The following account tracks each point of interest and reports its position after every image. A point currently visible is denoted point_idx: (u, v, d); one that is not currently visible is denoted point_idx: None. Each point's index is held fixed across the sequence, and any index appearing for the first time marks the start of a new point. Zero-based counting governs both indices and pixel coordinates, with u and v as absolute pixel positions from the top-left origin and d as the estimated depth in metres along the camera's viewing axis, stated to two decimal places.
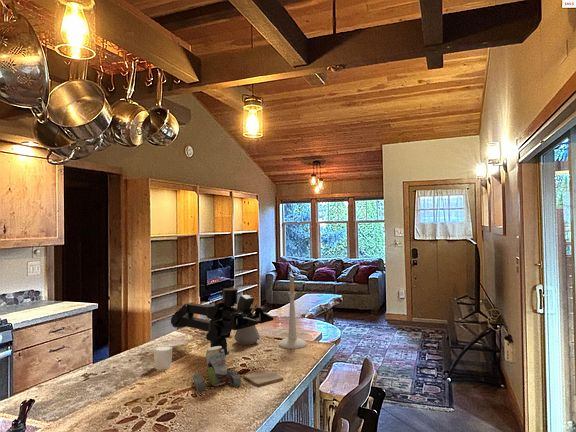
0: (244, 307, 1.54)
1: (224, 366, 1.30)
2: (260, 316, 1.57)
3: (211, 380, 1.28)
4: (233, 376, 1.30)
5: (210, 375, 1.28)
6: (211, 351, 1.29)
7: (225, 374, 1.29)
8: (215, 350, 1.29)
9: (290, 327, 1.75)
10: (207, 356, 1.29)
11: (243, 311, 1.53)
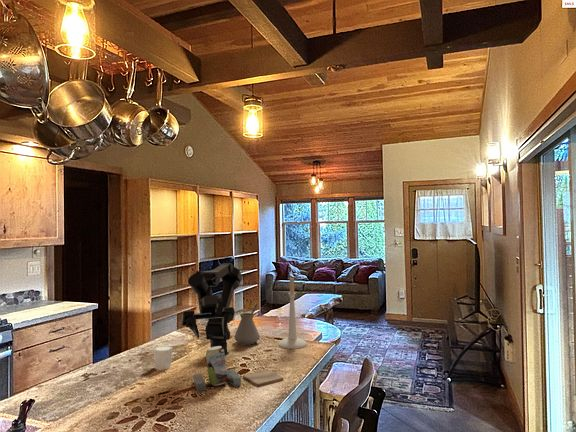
0: (206, 306, 1.43)
1: (224, 366, 1.30)
2: (222, 318, 1.46)
3: (211, 380, 1.28)
4: (233, 376, 1.30)
5: (210, 375, 1.28)
6: (211, 351, 1.29)
7: (225, 374, 1.29)
8: (215, 350, 1.29)
9: (290, 327, 1.75)
10: (207, 356, 1.29)
11: (203, 309, 1.43)
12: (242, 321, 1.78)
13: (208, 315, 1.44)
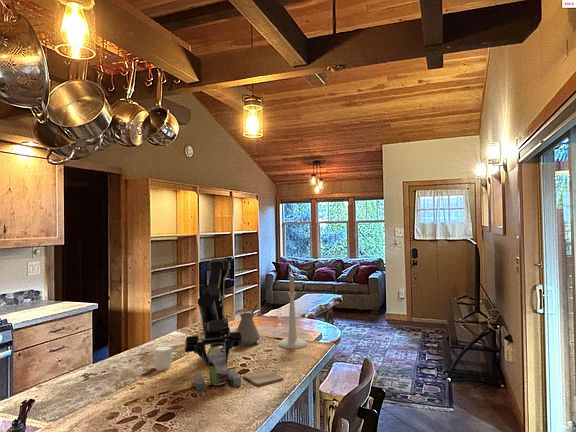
0: (211, 331, 1.33)
1: (225, 366, 1.30)
2: (224, 344, 1.36)
3: (212, 379, 1.28)
4: (233, 376, 1.30)
5: (211, 374, 1.28)
6: (213, 350, 1.29)
7: (226, 374, 1.29)
8: (217, 349, 1.29)
9: (290, 327, 1.75)
10: (209, 355, 1.29)
11: (208, 335, 1.34)
12: (242, 321, 1.78)
13: (213, 340, 1.35)
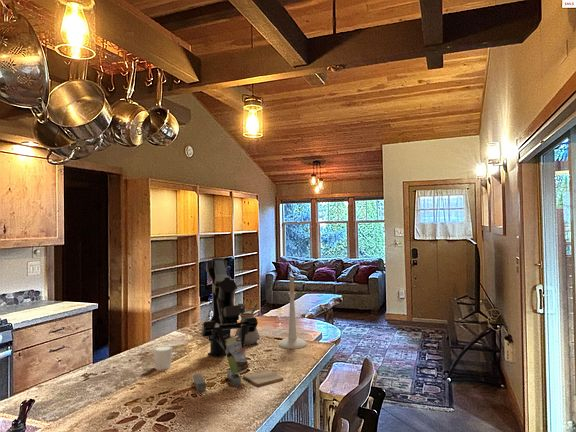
0: (227, 317, 1.35)
1: (243, 354, 1.32)
2: (240, 329, 1.37)
3: (232, 369, 1.30)
4: (233, 376, 1.30)
5: (231, 364, 1.30)
6: (229, 341, 1.31)
7: (245, 361, 1.32)
8: (232, 339, 1.31)
9: (290, 327, 1.75)
10: None
11: (224, 320, 1.35)
12: (242, 321, 1.78)
13: (230, 326, 1.37)
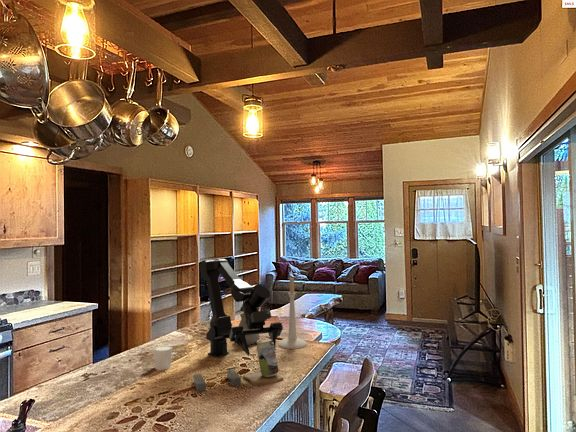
0: (254, 322, 1.40)
1: (275, 358, 1.35)
2: (270, 334, 1.43)
3: (263, 371, 1.33)
4: (233, 376, 1.30)
5: (262, 367, 1.33)
6: (262, 343, 1.34)
7: (276, 365, 1.34)
8: (266, 342, 1.34)
9: (290, 327, 1.75)
10: (259, 348, 1.34)
11: (251, 325, 1.40)
12: (242, 321, 1.78)
13: (256, 331, 1.41)
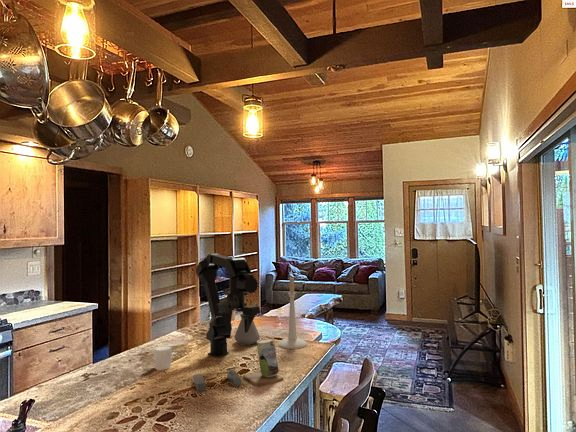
0: None
1: (275, 358, 1.35)
2: None
3: (264, 372, 1.33)
4: (233, 376, 1.30)
5: (263, 367, 1.33)
6: (263, 344, 1.34)
7: (277, 366, 1.34)
8: (267, 343, 1.34)
9: (290, 327, 1.75)
10: (259, 349, 1.34)
11: None
12: (242, 321, 1.78)
13: None
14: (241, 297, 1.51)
